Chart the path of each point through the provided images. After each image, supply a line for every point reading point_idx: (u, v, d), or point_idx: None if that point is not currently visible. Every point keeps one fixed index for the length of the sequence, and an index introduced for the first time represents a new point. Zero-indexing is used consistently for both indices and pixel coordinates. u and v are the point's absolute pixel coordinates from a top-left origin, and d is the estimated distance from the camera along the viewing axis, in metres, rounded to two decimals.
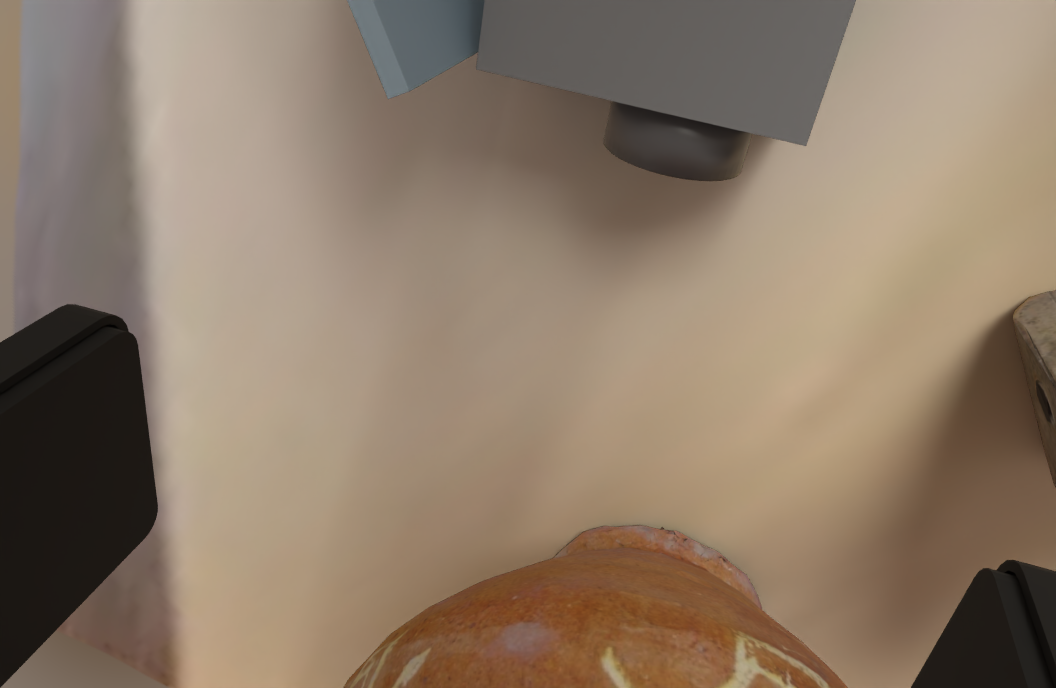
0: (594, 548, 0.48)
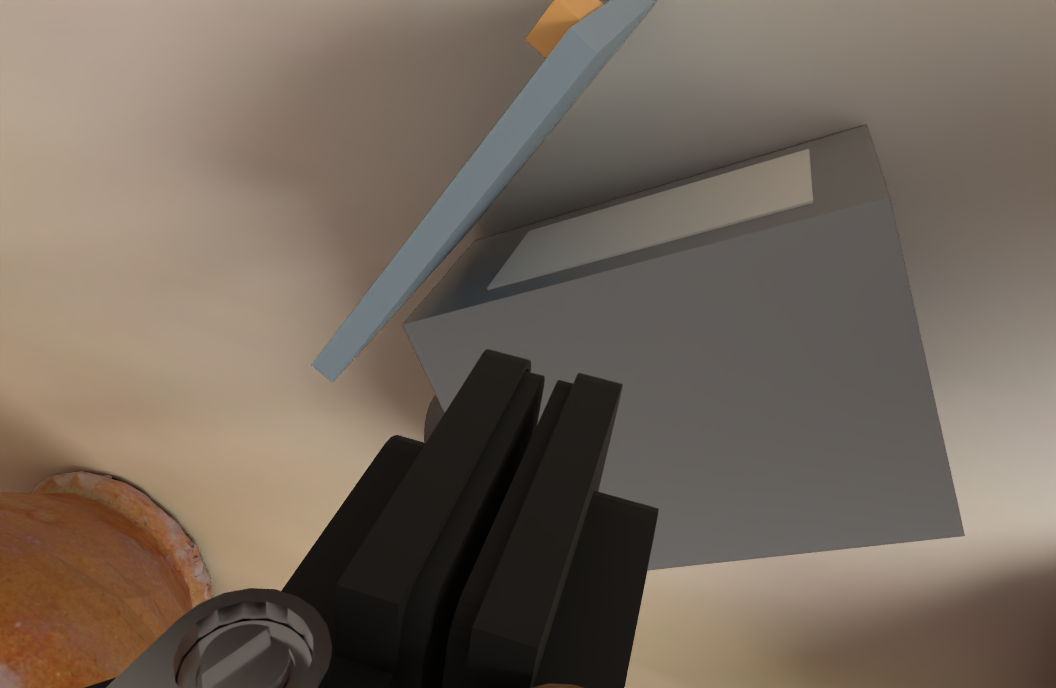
0: (121, 506, 0.48)
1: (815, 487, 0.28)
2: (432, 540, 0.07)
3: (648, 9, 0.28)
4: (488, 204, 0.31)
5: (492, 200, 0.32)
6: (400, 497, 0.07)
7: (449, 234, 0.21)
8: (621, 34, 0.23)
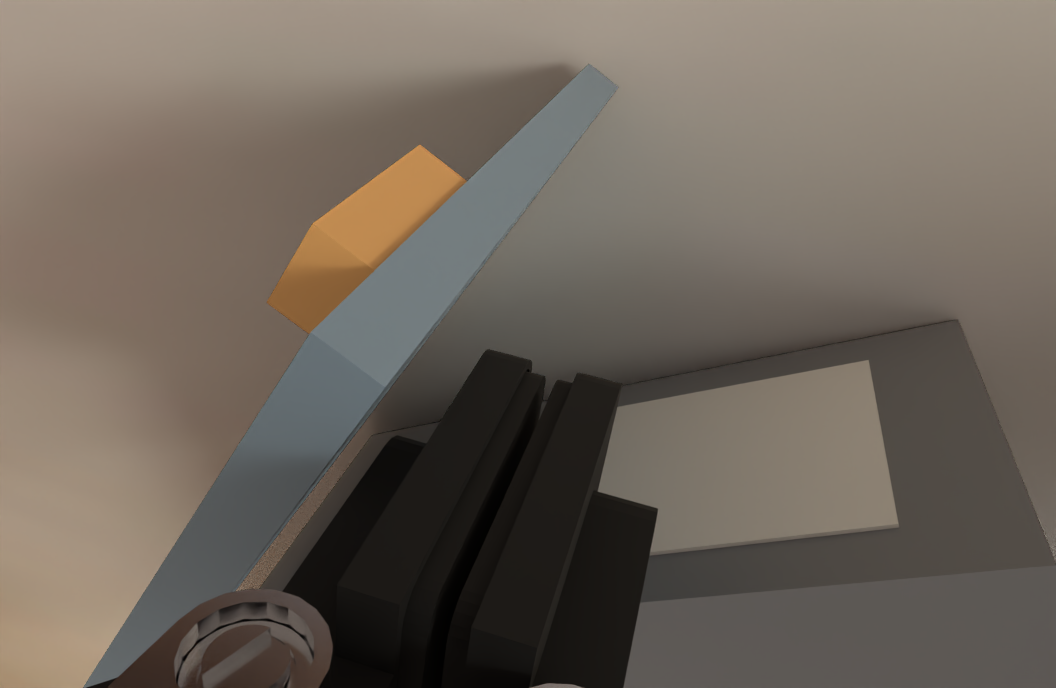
0: None
1: None
2: (434, 540, 0.07)
3: None
4: None
5: None
6: (401, 497, 0.07)
7: None
8: (510, 226, 0.12)
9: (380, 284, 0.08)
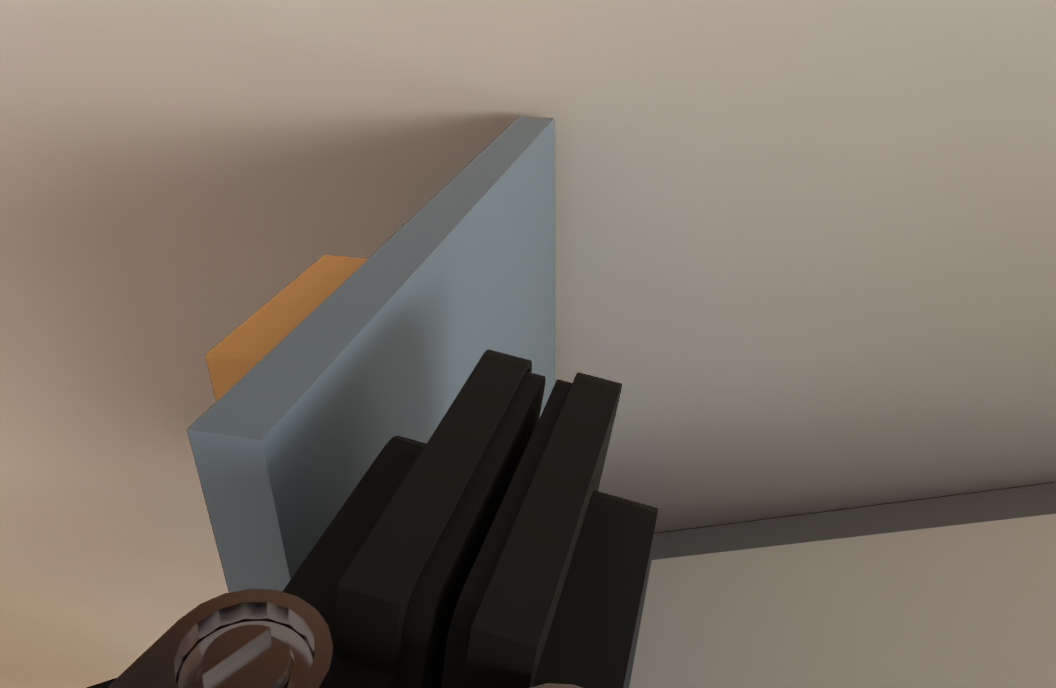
0: None
1: None
2: (434, 540, 0.07)
3: (533, 168, 0.17)
4: None
5: None
6: (401, 497, 0.07)
7: None
8: (442, 273, 0.12)
9: (264, 368, 0.09)
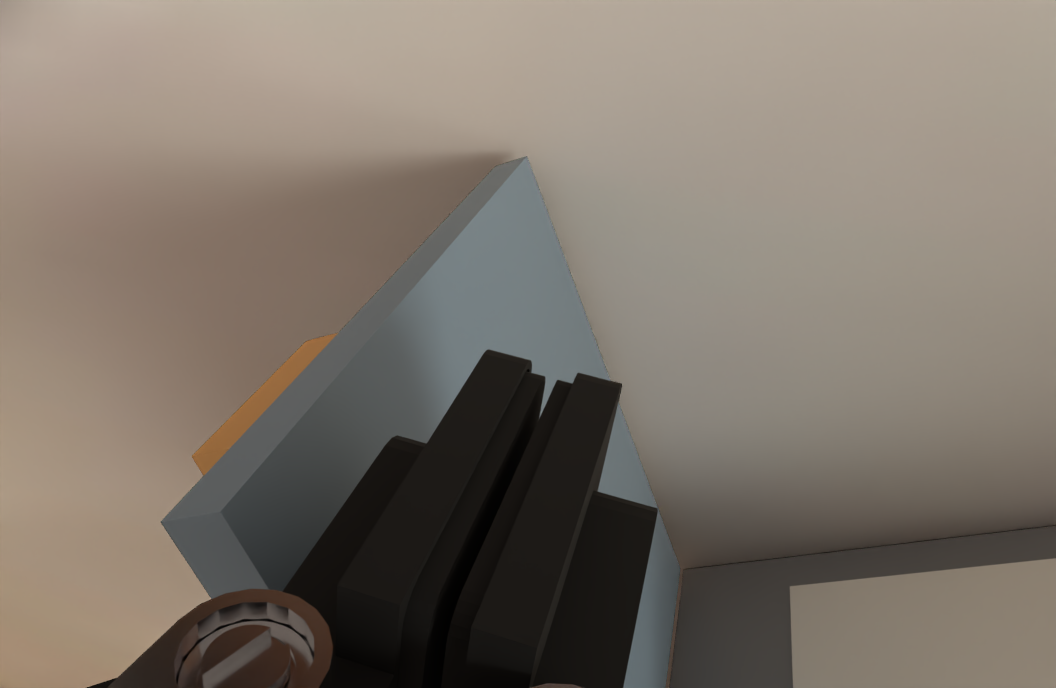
0: None
1: None
2: (434, 540, 0.07)
3: (513, 207, 0.17)
4: None
5: None
6: (401, 498, 0.07)
7: None
8: (418, 324, 0.13)
9: (234, 450, 0.10)
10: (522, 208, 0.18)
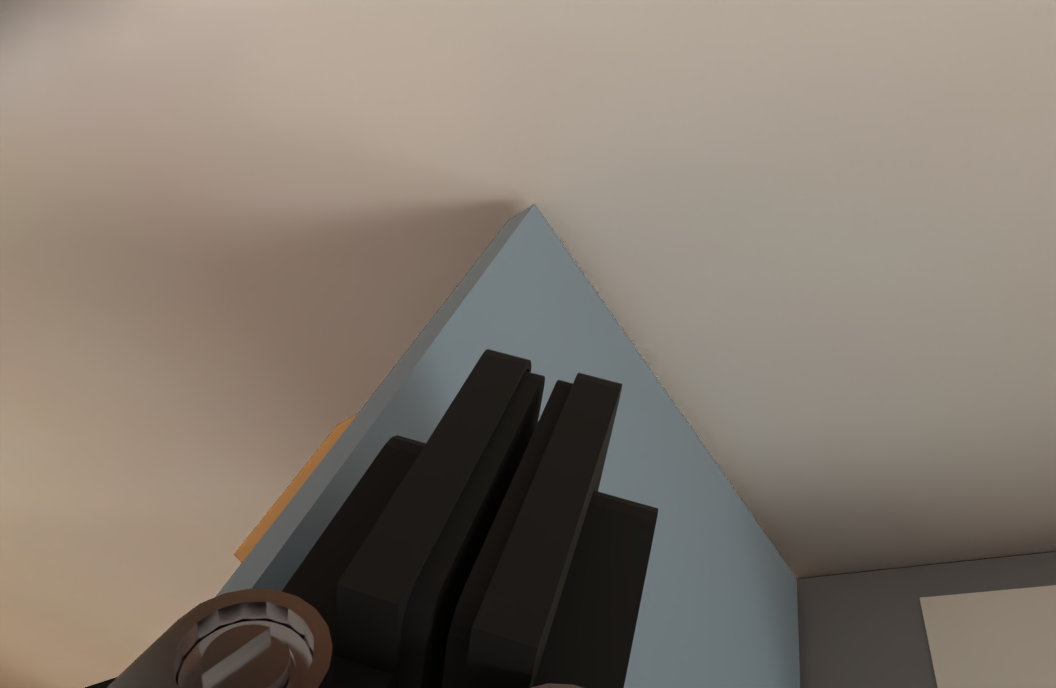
0: None
1: None
2: (434, 540, 0.07)
3: (527, 255, 0.18)
4: (735, 575, 0.19)
5: (740, 555, 0.20)
6: (401, 497, 0.07)
7: None
8: (435, 386, 0.13)
9: (263, 540, 0.10)
10: (538, 254, 0.18)
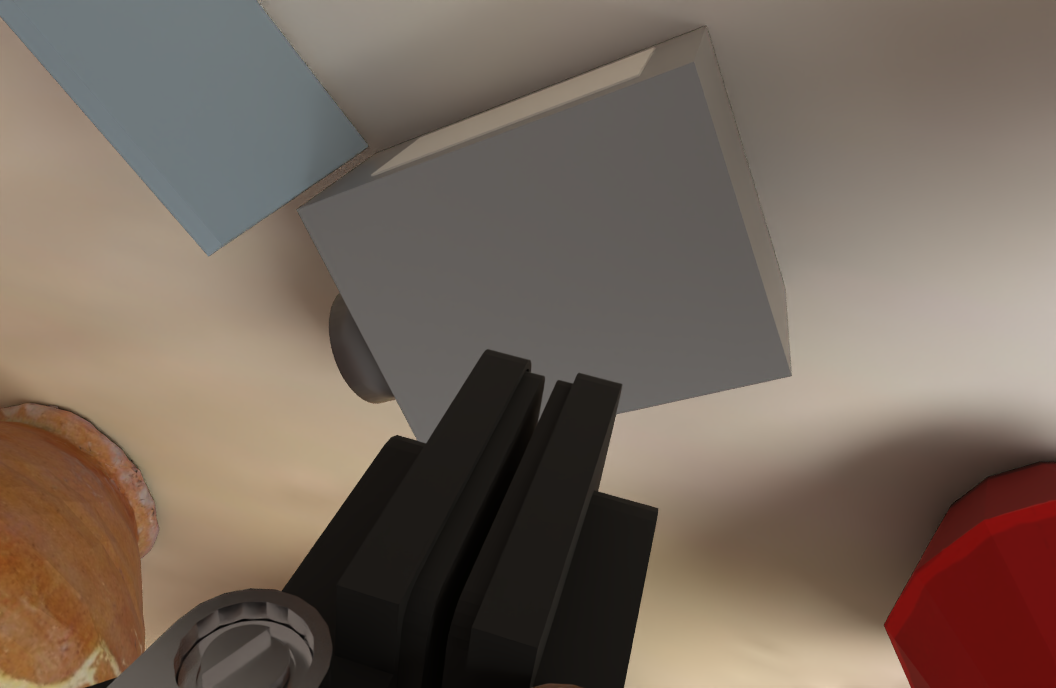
0: (66, 433, 0.51)
1: (662, 339, 0.32)
2: (434, 539, 0.07)
3: None
4: (296, 105, 0.36)
5: (308, 104, 0.36)
6: (401, 497, 0.07)
7: (84, 84, 0.27)
8: None
9: None
10: None
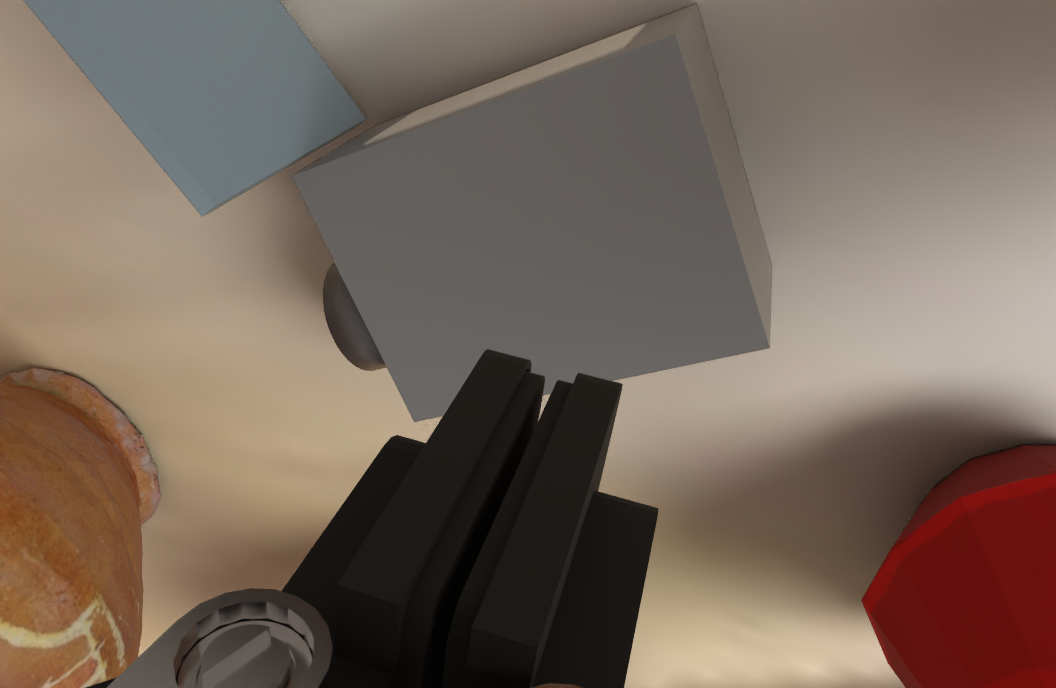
0: (71, 398, 0.53)
1: (644, 309, 0.32)
2: (434, 540, 0.07)
3: None
4: (295, 76, 0.37)
5: (307, 75, 0.37)
6: (400, 497, 0.07)
7: (84, 46, 0.28)
8: None
9: None
10: None
